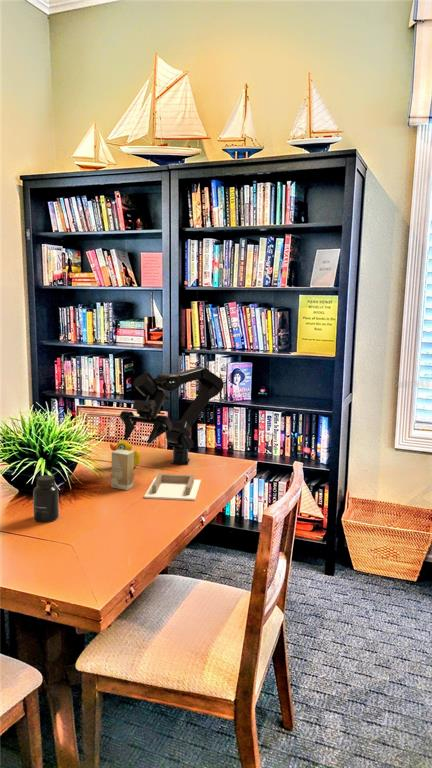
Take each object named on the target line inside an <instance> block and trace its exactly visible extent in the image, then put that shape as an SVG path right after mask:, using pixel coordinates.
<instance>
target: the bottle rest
mask: <svg viewBox="0 0 432 768" xmlns="http://www.w3.org/2000/svg"><path fill="white" fill-rule="evenodd" d="M201 482H202V479H195V475H193V474H174V473H173V474H172V473H171V474H170V473H158V474H157V477H154V479H153V480H152V481H151V483H150V485H149V488H147V491H146V492H145V494H144V496H143V498H144V499H155V500H157V499H158V500H172V501H173V500H174V501H176V500H177V501H196V499H197V494H198V491H199V489H200V485H201Z"/></svg>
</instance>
